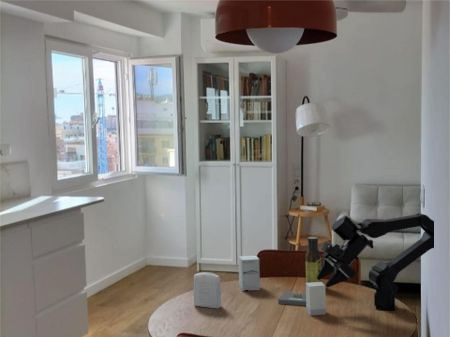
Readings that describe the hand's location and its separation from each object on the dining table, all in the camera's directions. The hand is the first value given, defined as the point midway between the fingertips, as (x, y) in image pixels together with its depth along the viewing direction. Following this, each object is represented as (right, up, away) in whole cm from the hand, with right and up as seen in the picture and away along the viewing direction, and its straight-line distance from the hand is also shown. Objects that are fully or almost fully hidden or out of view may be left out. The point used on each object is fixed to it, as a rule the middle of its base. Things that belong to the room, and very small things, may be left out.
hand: (321, 282), depth 182 cm
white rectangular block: (-2, -10, 0) cm, 11 cm away
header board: (-6, -10, +14) cm, 18 cm away
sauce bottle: (+2, -8, +30) cm, 32 cm away
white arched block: (-39, -11, +11) cm, 42 cm away
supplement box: (-23, -9, +31) cm, 40 cm away
